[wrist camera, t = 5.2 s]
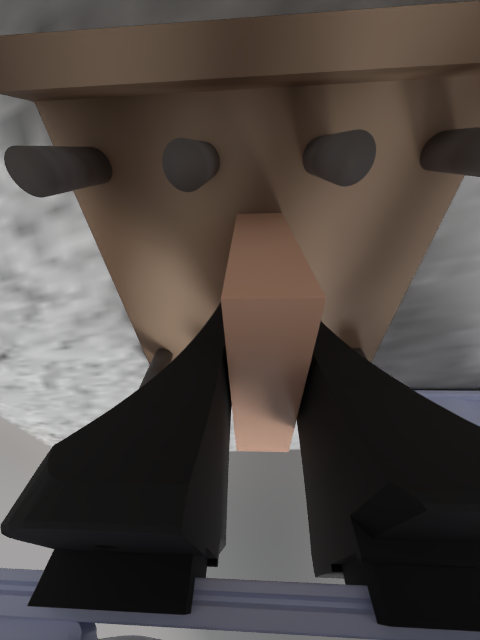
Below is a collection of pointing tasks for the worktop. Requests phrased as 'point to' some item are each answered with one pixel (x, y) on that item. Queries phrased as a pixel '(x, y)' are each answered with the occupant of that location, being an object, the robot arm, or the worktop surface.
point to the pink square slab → (268, 329)
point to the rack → (255, 151)
